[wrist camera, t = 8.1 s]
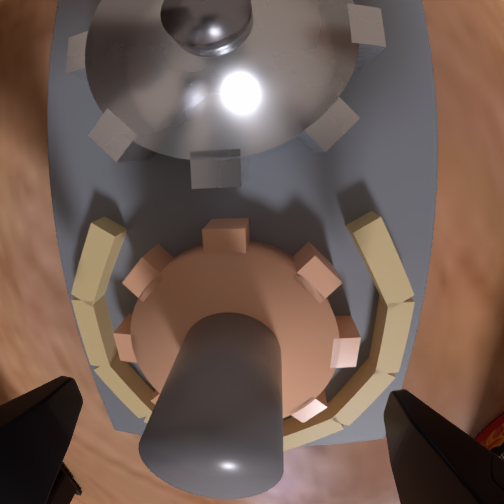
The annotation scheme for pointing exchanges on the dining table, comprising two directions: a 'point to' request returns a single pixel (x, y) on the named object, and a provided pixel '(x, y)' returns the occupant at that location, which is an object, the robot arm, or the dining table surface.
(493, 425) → the canned food
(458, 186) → the dining table surface
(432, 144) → the carrier plate
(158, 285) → the planet gear
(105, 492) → the dining table surface
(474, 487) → the robot arm
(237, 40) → the sun gear
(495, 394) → the dining table surface
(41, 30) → the dining table surface
